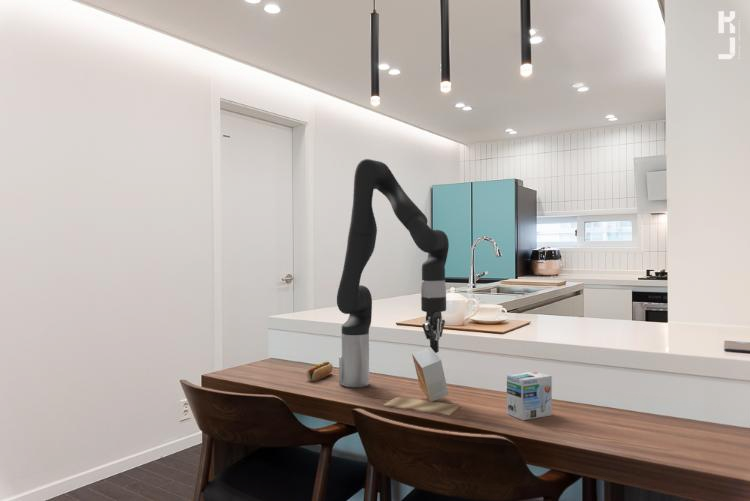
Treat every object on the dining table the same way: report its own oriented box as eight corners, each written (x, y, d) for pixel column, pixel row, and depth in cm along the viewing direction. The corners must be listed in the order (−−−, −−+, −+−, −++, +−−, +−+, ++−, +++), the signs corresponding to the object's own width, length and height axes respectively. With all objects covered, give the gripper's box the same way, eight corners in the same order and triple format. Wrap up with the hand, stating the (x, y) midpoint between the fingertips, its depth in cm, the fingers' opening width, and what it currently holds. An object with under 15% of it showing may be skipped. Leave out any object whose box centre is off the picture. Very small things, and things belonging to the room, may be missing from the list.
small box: (419, 387, 164) (411, 353, 158) (438, 380, 165) (430, 346, 160) (429, 403, 156) (421, 367, 151) (449, 395, 158) (441, 359, 152)
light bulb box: (523, 421, 139) (522, 380, 139) (505, 414, 145) (505, 374, 145) (553, 415, 144) (552, 375, 144) (535, 408, 150) (534, 370, 150)
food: (321, 373, 197) (321, 359, 197) (335, 374, 195) (335, 360, 195) (303, 381, 184) (303, 367, 184) (317, 383, 182) (317, 368, 182)
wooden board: (383, 405, 153) (383, 404, 153) (397, 398, 161) (397, 396, 161) (449, 415, 144) (449, 413, 144) (460, 407, 152) (460, 405, 152)
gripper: (430, 293, 169) (431, 348, 169) (413, 296, 157) (414, 355, 157) (452, 294, 165) (453, 349, 165) (437, 297, 153) (438, 357, 153)
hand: (434, 352), depth 161 cm, fingers closed
